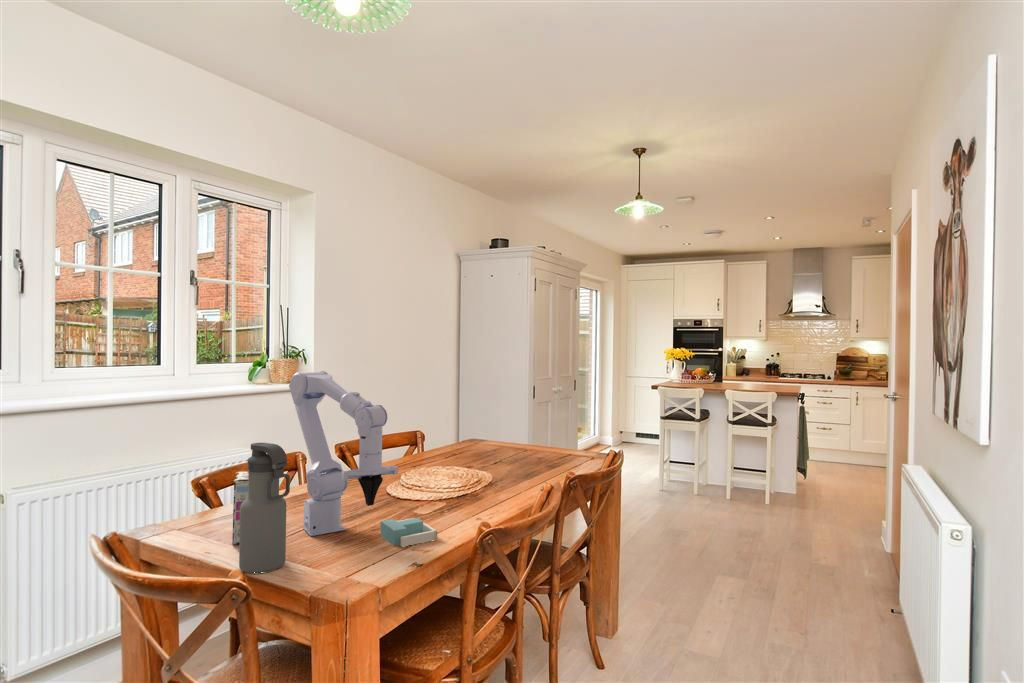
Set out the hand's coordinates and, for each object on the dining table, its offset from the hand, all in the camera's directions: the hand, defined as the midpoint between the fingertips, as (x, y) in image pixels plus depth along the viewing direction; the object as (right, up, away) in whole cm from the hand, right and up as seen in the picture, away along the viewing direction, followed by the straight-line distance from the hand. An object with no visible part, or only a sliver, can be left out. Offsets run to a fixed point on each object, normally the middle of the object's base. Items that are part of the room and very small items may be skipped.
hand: (369, 504), depth 148 cm
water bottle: (-20, -9, -18) cm, 28 cm away
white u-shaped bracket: (+10, -10, +4) cm, 14 cm away
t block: (+8, -10, +3) cm, 13 cm away
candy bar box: (-33, -9, +1) cm, 34 cm away
